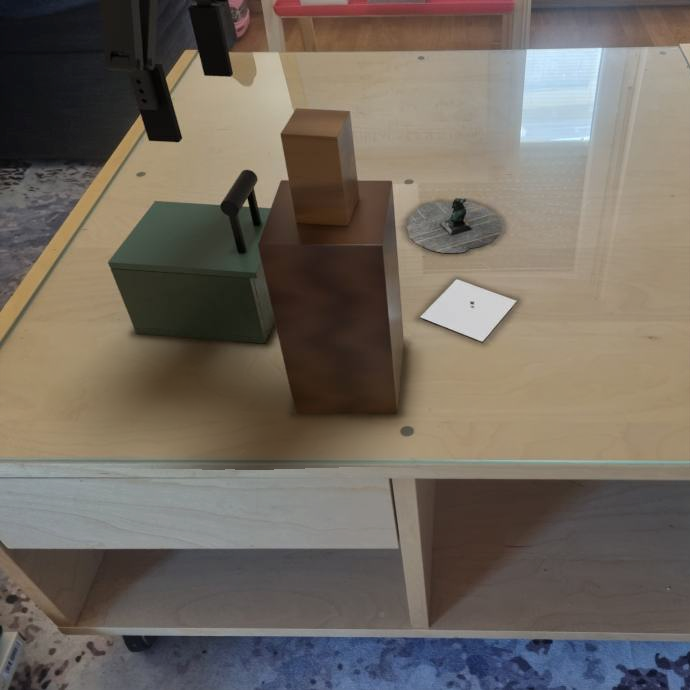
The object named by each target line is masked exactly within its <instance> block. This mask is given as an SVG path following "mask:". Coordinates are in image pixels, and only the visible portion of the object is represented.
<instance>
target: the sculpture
mask: <svg viewBox="0 0 690 690" xmlns="http://www.w3.org/2000/svg"><path fill="white" fill-rule="evenodd" d="M406 223H407V224H406V229H407V234H408V236H409V238H410V239H411V240H412V241H413V242H414V243H415V244H416V245H418V246H421V247H422V248H425V249H428V250H430V251H434V252H438V253H442V254H455V253H460V254H461V253H462V254H463V253H465V252H468V251H469V249H473V248H481V247H484V246H486V245H489V244H491V243H492V242H493V241H494V240H495V239H496V238H497V237H499V235H500V234H501V233H502V230H501V229H502V225H501V221H500V217H498V215H496V214H494V213H493V211H492V210H491V209H490V208H487V207H485V206H482V205H479V204H476V203H473V202H470V201H467V198H466V197H465V198H460V197H456V198H455V199H453V201H452V203H449V202H445V201H437V202H433V203H432V202H431V203H428V204H425V205H422V206H420V207H419V208H418V209H417V210H416V211H414V212H413V213H412V214H410V216H408V217H407V222H406Z"/></svg>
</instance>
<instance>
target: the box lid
mask: <svg viewBox="0 0 690 690" xmlns="http://www.w3.org/2000/svg"><path fill="white" fill-rule="evenodd" d="M258 180H259V179H258V176H257V174H256V173H255V172H254V171H253V170H251V169H244V170H242V171H241V172H240V173H239V175H238V176H237V178H236V180H235V181H234V183H233V184H232V185H231V187H230V188H229V190H228V192H227V194H226V195H225V196H224V199H223V200H222V201H221V203H220V204H211V203H195V202H182V201H181V202H180V201H179V202H178V201H165V200H164V201H162V200H154V202H153V203H152V204H151V206H150V207H148V209H147V211H146V212H145V213H144V215H143V216H142V217H141V218H140V220H139V221H138V223H137V224H136V225H135V226H134V227H133V229H132V230H131V231H130V232H129V234H128V235H127V236H126V238H125V239H124V240H123V242H122V243H121V244H120V245H119V247H118V248H117V249H116V250H115V252H114V253H113V255H111V257H110V259H109V260H108V261H107V264H108V267H109V269H111V268H114V269H128V270H142V271H157V272H171V273H185V274H199V275H213V276H227V277H241V278H255V279H257V278H258V276H259V274H260V272H261V270H262V268H263V267H262V262H261V258H260V253H259V249H258V242H259V240H260V237H261V234H262V231H263V228H264V226H265V223H266V220H267V217H268V215H269V212H270V209H271V207H262V206H261V207H260V206H259V205H258V201H257V196H256V192H255V186H256V185H257V183H258ZM246 202H247V204H248V206H245V203H246Z"/></svg>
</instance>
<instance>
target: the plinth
mask: <svg viewBox="0 0 690 690" xmlns="http://www.w3.org/2000/svg"><path fill="white" fill-rule="evenodd" d="M357 180H358V179H357ZM358 189H359V200H358V203H357V205H356V208H355V210H354V213H353V215H352V218H351V220H350V223H349V225H348V226H333V225H318V224H302V223H296V219H295V213H294V207H293V202H292V196H291V191H290V185H289V179H287V180H286V179H281V180H280V181H279V184H278V187H277V190H276V192H275V195H274V198H273V201H272V204H271V207H270V208H271V209H270V212H269V215H268V217H267V220H266V223H265V226H264V228H263V231H262V234H261V237H260V240H259V242H258V249H259V253H260V258H261V262H262V267H263V271H264V275H265V280H266V284H267V289H268V293H269V298H270V302H271V306H272V311H273V315H274V320H275V323H274V325H275V328H276V333H277V337H278V341H279V346H280V351H281V354H282V359H283V364H284V367H285V368H284V369H285V373H286V377H287V381H288V386H289V390H290V394H291V399H292V403H293V408H294V412H295V414H377V415H378V414H388V415H389V414H391V415H393V414H395V415H396V414H398V412H399V402H400V401H399V400H400V390H401V381H402V380H401V379H402V372H403V371H402V370H403V361H404V351H405V349H404V348H405V337H404V325H403V311H402V298H401V296H402V295H401V283H400V271H399V269H400V268H399V255H398V243H397V241H398V240H397V228H396V227H397V226H396V214H395V213H396V212H395V201H394V185H393V181H392V180H363V179H362V180H361V179H360V180H358Z"/></svg>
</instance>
